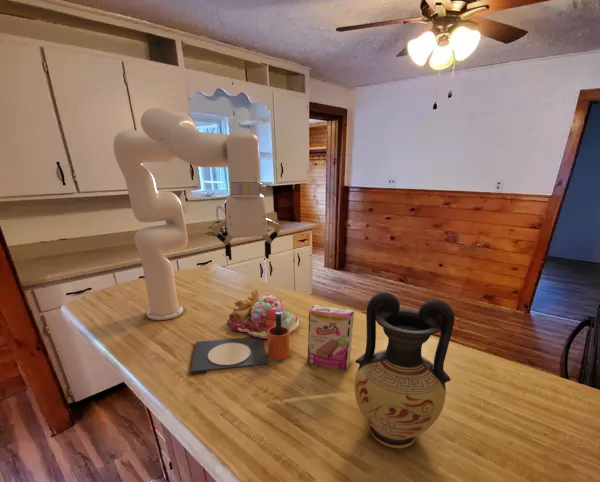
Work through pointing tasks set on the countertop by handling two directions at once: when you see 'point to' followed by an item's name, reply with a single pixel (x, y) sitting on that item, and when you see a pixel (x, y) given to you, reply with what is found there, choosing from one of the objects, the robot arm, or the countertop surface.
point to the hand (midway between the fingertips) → (248, 258)
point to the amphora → (403, 369)
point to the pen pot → (278, 343)
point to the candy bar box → (330, 336)
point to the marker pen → (278, 323)
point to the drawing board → (228, 354)
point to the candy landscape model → (260, 315)
